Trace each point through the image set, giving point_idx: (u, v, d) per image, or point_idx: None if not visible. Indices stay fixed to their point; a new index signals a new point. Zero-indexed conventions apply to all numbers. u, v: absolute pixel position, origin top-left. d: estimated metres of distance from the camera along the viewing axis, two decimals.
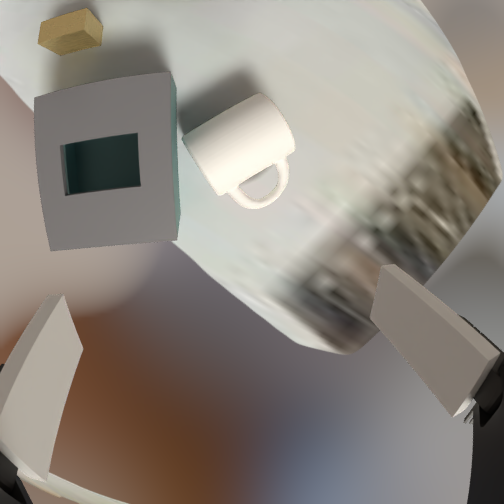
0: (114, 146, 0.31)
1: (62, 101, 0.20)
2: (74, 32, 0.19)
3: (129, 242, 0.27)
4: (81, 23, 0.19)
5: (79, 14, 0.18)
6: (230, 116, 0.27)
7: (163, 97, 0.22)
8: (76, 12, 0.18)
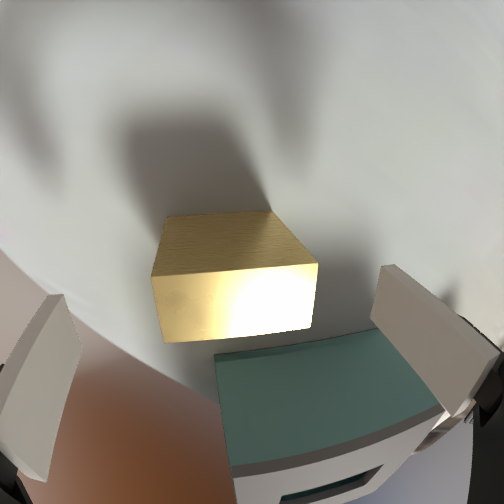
0: None
1: (295, 474, 0.13)
2: (283, 329, 0.12)
3: None
4: (302, 310, 0.11)
5: (296, 282, 0.11)
6: None
7: (425, 433, 0.15)
8: (285, 272, 0.11)
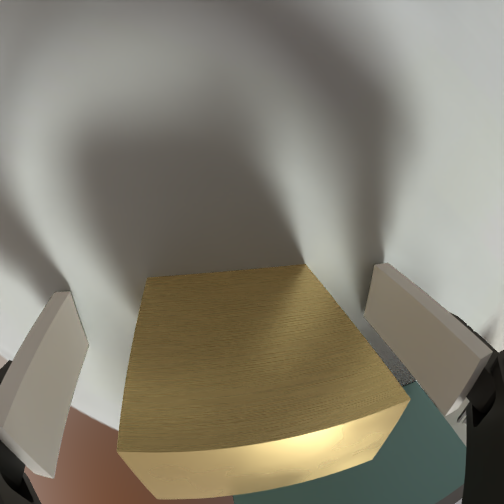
0: None
1: None
2: (335, 469, 0.06)
3: None
4: (369, 449, 0.06)
5: (371, 429, 0.05)
6: None
7: None
8: (359, 424, 0.05)
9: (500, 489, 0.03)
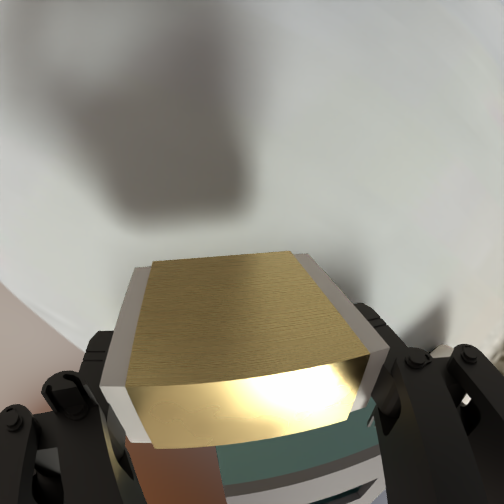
0: None
1: (287, 492, 0.12)
2: (312, 426, 0.08)
3: None
4: (340, 406, 0.07)
5: (338, 380, 0.07)
6: None
7: None
8: (324, 372, 0.07)
9: None
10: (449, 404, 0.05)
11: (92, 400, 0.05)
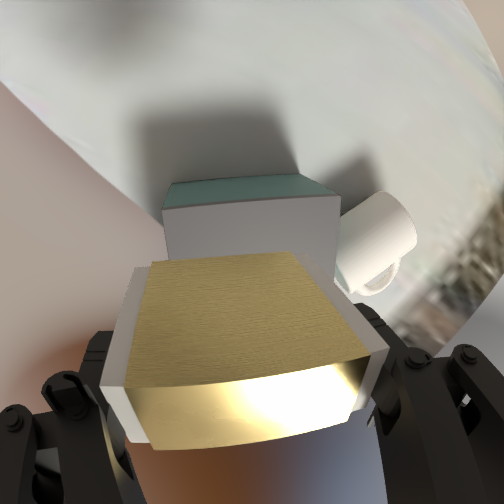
0: None
1: (208, 221, 0.22)
2: (313, 427, 0.08)
3: None
4: (341, 407, 0.07)
5: (338, 381, 0.07)
6: (371, 225, 0.29)
7: (332, 225, 0.24)
8: (325, 373, 0.07)
9: None
10: (449, 404, 0.05)
11: (92, 400, 0.05)
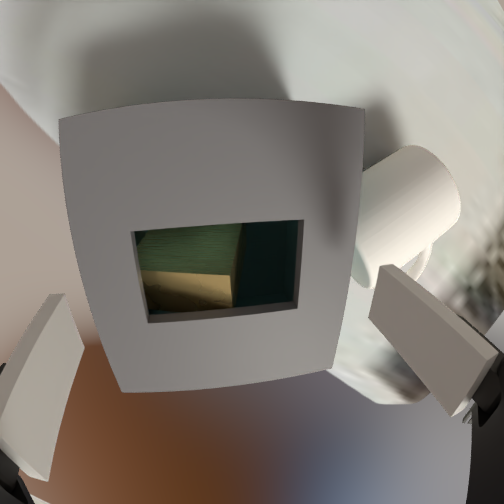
0: None
1: (130, 133, 0.11)
2: None
3: (263, 379, 0.17)
4: (224, 304, 0.16)
5: (214, 285, 0.15)
6: (401, 184, 0.18)
7: (352, 157, 0.13)
8: (205, 278, 0.15)
9: None
10: None
11: None
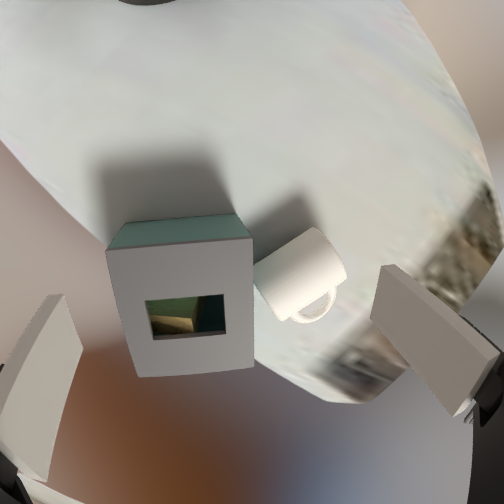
0: None
1: (141, 260, 0.26)
2: None
3: (214, 370, 0.32)
4: (190, 331, 0.31)
5: (184, 322, 0.30)
6: (296, 260, 0.33)
7: (246, 263, 0.28)
8: (179, 319, 0.30)
9: None
10: None
11: None
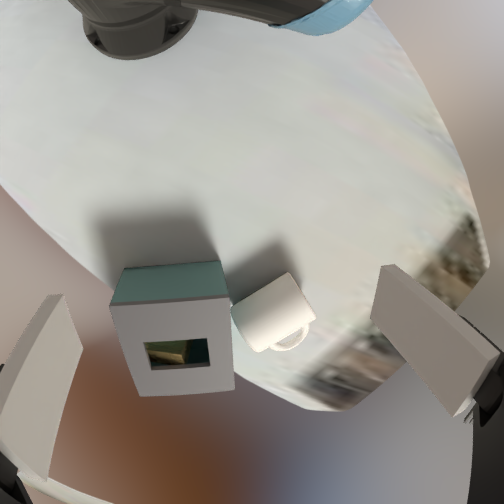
0: None
1: (138, 313, 0.31)
2: None
3: (201, 392, 0.38)
4: (181, 362, 0.36)
5: (176, 357, 0.35)
6: (270, 306, 0.39)
7: (225, 315, 0.33)
8: (172, 354, 0.35)
9: None
10: None
11: None
